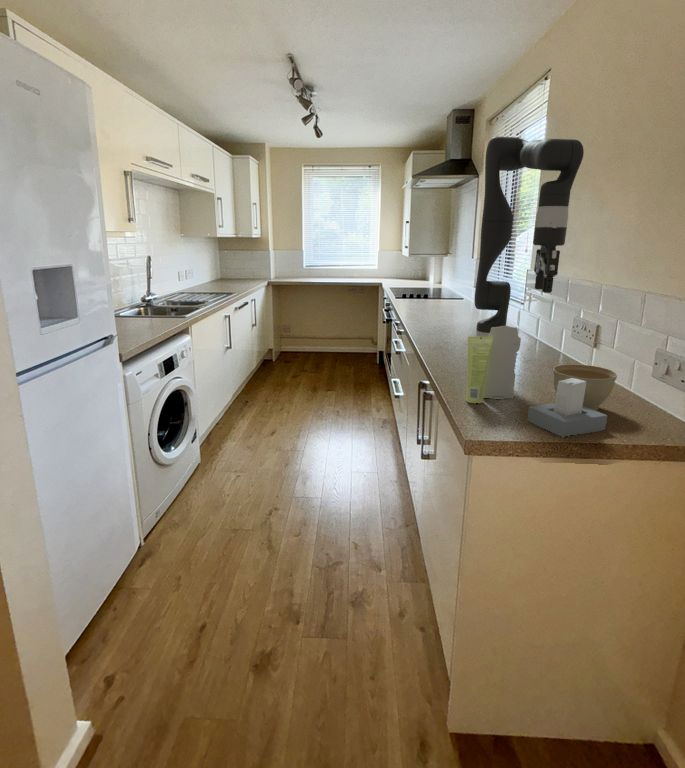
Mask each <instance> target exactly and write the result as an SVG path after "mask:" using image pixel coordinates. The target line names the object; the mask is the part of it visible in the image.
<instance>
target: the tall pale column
mask: <svg viewBox="0 0 685 768" xmlns="http://www.w3.org/2000/svg"><path fill="white" fill-rule="evenodd" d="M488 337H493V342H492V347H491V352H490V357H489V363H488V369H487V375H486V382H485V390H484V397H483V398H490V399H489V400H496V399H502V400H509V398H512V399H513V398H514V389H515V382H516V381H515V380H516V373H515V370H516V362H517V356H518V352H519V350H520V349H521V340H522V338H521V337H520V336H519V332H518V327H514V326H508V325H506V326H499V327H492V328H491V331H490V334H489V336H488ZM507 398H508V399H507Z"/></svg>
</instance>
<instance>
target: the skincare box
mask: <svg viewBox="0 0 685 768" xmlns="http://www.w3.org/2000/svg"><path fill="white" fill-rule="evenodd" d="M585 388H586V381H583V380H579V379H575V378H570V379H566V380H561V381H558V386H557V393H556V394H555V400H554V403H555V405H554V412H555V413H557V414H559V415H562V416H564V417H565V416H571V415H578V414H581V412H582V406H583V400H584V394H585Z"/></svg>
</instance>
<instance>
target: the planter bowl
mask: <svg viewBox="0 0 685 768" xmlns="http://www.w3.org/2000/svg"><path fill="white" fill-rule="evenodd" d="M552 372H553V376H552V378H553V379H552V381H553V387H554V390H555V392H556V393H557V386H558V381H561V380H566V379H570V378H575V379H579V380H583V381H586V388H585V394H584V400H583V406H584V407H587V408H590V409H592V410H595V411H598V409H599V407H600V406H601V405H602V404H603V403H605V401H606V400H607V399H608V398H609V397H610V394H611V393H612V391H613V389H614V386H615V382H616V380H617V377H618V374H617V372H615V371H613V370H611V369H608V368H605V367H601V366H596V365H589V364H588V365H587V364H582V363H581V364H578V363H577V364H575V363H570V364H568V363H567V364H566V363H565V364H564V363H563V364H559V365H556V366H553V369H552Z"/></svg>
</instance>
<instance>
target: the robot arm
mask: <svg viewBox="0 0 685 768" xmlns="http://www.w3.org/2000/svg"><path fill="white" fill-rule="evenodd" d="M584 153H585V151H584V146H583V144H582V142H581V141H580V140H578V139H573V138H572V139H571V138H570V139H568V138H545V139H536V140H531V141H528V140H525V139H524V138H521V137H515V136H492V138H490V139H489V140H488V143H487V147H486V152H485V162H484V165H485V166H484V169H485V170H484V198H483V210H482V216H481V217H482V218H481V228H480V244H479V245H480V246H479V247H480V248H479V260H478V267H477V268H478V269H477V277H476V282H475V288H474V289H475V290H474V298H473V299H474V301H473V302H474V306H475V309H477V310H481V311H483V310H485V311H497V312H495V314H494V315H492V316H490V317H488V318H484V319H481V320H479V321H478V322H477V324H476V330H475V337H488V336H489V334H490V331H491V328H492V327H499V326H507V320H508V312H509V306H510V299H511V293H512V291H511V290H512V288H511V284H510V282H508V281H504V280H502V281H501V280H500V281H499V280H487V279H488V275H489V273H490V271H491V269H492V267H493V265H494V264H495V262H496V260H497V259H498V258H499V257H500V255H501V254H502V253H503V251H504V250H505V248H506V247H507V245H508V244H509V243H510V241H511V239H512V235H513V234H512V233H513V224H514V215H513V211H512V209H511V206H510V204H509V202H508V200H507V198H506V196H505V194H504V191H503V188H502V185H501V177H500V173H501V172H500V171H502V172H503V171H504V172H505V171H506V172H513V171H517V170H521V169H524V168H526V169H531V170H540V171H550V172H554V171H555V172H560V173H559V175H558V177H557V178H556V179H555V180H551V181H550V180H549V181H546V182H544V183H543V184H541V186H540V190H539V198H538V207H537V212H536V214H535V215H536V216H535V223H534V233H533V241H532V243H533V245H534V246H540V248H537V249H536V252H535V253H536V255H535V260H534V261H535V262H534V269H533V271H534V274H535V280H534V281H535V282H534V283H535V284H534V289H535V290H541V291H542V293H545V294H549V293H550V294H551V293H552V292H553V284H554V279H555V277H556V276H557V275H558V273H559V272H558V271H559V265H560V264H559V263H560V262H559V261H560V255H561V251H560V250H558V249H557V246H558V247H559V246H561V247H562V246H564V245H565V243H566V235H567V229H568V227H567V226H568V223H569V222H568V221H569V205H570V199H571V198H570V197H571V190H572V187H573V184H574V182H575V180H576V177H577V173H578V171H579V169H580V167H581V164H582V161H583V158H584Z"/></svg>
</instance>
